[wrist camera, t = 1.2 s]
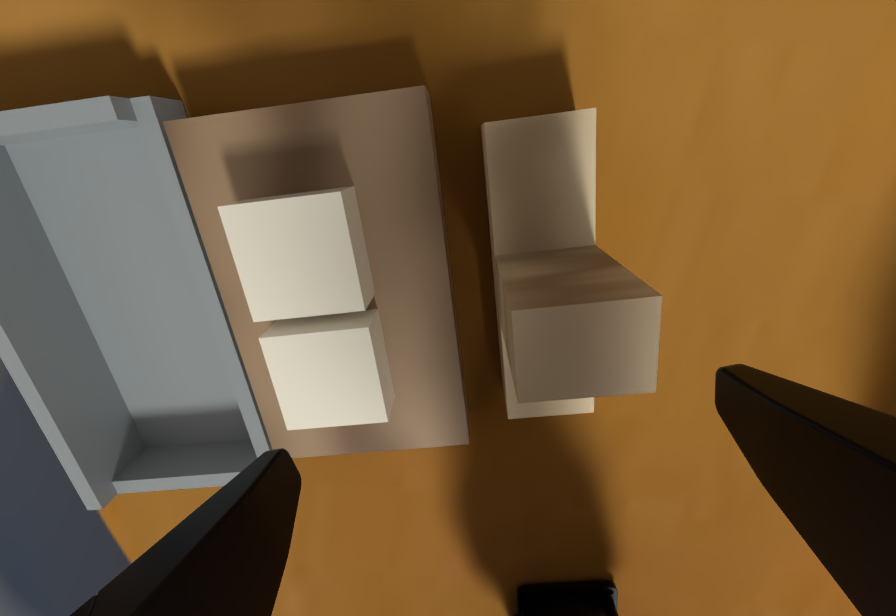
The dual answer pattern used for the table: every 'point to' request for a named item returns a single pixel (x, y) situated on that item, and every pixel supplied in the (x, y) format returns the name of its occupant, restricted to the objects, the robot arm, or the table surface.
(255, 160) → the tan flat block
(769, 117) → the table surface
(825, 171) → the table surface
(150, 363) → the grey tray
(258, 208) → the cream tile
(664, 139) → the table surface
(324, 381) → the cream tile
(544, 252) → the beige l-shaped block
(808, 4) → the table surface
